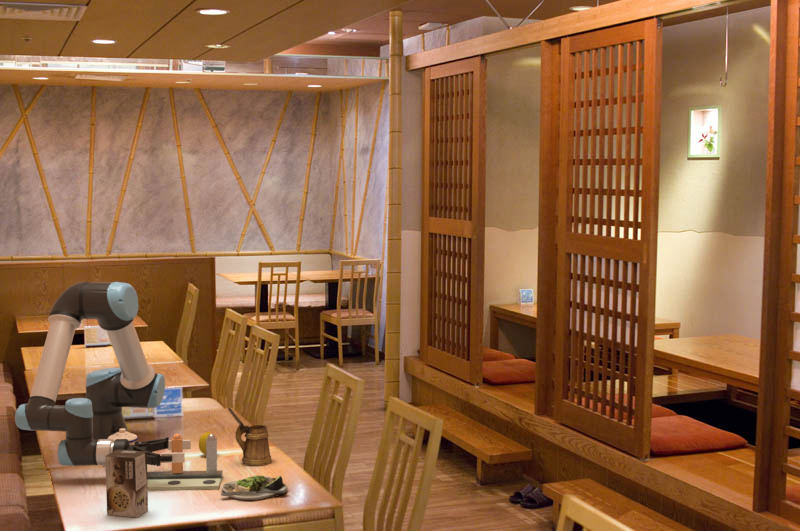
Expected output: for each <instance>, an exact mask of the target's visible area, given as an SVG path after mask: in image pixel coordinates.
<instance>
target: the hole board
mask: <svg viewBox="0 0 800 531" xmlns="http://www.w3.org/2000/svg"><path fill="white" fill-rule="evenodd" d="M221 483H222V480H221V478H212V479H156V480H147V485H148V492H150V490H151V492H152V491H153V492H154V491H188V490H189V491H193V490H195V491H196V490H197V491H199V490H201V491H202V490H219V489H220V486H221Z"/></svg>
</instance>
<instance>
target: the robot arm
mask: <svg viewBox="0 0 800 531" xmlns="http://www.w3.org/2000/svg"><path fill="white" fill-rule="evenodd" d="M138 301H139V297H138V294H137V291H136V289H135V288H134V286H132V285H131V283H127V282H120V281H113V282H112V281H111V282H110V281H80V282H76V283H73V284H72V285H70V286H68V287H67V288H66V289H64V290H63V291H62V293H60V294H59V295H58V297H57V298H56V300H55V301H54V303H53V304H52V306H51V309H50V311H49V314H48V317H47V318H48V319H47V320H48V323H49V327H48V331H47V335H46V339H45V341H44V345H43V350H42V352H41V357H40V359H39V363H38V366H37V369H36V370H37V371H36V374H35V377H34V381H33V384H32V388H31V392H30V395H29V399H28V401H27V403H22V404H20V405H19V406H18V408H17V409H16V410H15V413H14V414H15V415H14V422H15V425H16V427H17V428H19V430H24V431H32V432H35V431H37V432H38V431H41V432H42V431H43V432H46V431H47V432H48V431H49V432H64V433H65V439H62V440H60V442H59V444H58V446H57V460H58V463H59V464H60V465H61V466H67V467H68V466H69V467H71V466H72V467H78V466H79V467H83V466H87V467H88V466H101V467H103V468H106V465H105V456H106V455H108V454H110V453H112V452H113V451H115V450H132V451H145V452H147V466H148V465H149V466H154V467H155V466H156V467H160V466H161V463H162V464H169V463H171V464H172V463H183V464H184V463H185V452H183V453H172V452H161V453H156V452H158V451H162V450H167V449H168V450H169V451H170V450H171V451H172V439H170V437H163V438H158V439H151V440H149V439H148V440H141V441H139V440H137V441H136V442H135V445H129V441H128V440H127V439H116V440H115V441H114V440H113V439H108V437H109V436H111V435H114V434H115V433H117V432H119V429H121V428H125V429H126V431H127V432H129V431H128V429H129V428H128V426H127V422H126V421H125V418H124V415H123V409H122V408H132V409H134V408H136V409H155V408H157V407H159V406H160V405H161V403H162V401H163V398H164V395H165V389H166V388H165V387H166V378H165V375H164V374H162V373H156V369H155V368H154V367H153V366H152V365H151V364H149V363H148V362H147V359H146V356H145V353H144V349H143V347H142V344H141V342H140V339H139V338H140V337H139V336H138V333H137V330H136V328H135V324H134V320H135V318H136V317H137V315H138V312H139V302H138ZM84 319H85V320H96V321H97V323H98V327H99V328H100V329H102V330H103V331H106V333H107V336H108V339H109V341H110V343H111V347H112V349H113V352H114V355H115V356H116V357H115V358H116V360H117V362H118V365H119V367H107V368H102V369H96V370H94V371H90V372H89V373H87V375H86V377H85V397H73V398H69V399H67V400H66V401H65V404H64V405H60V404H56V401H57V397H58V394H59V392H60V387H61V384H62V379H63V377H64V376H63V375H64V373H65V368H66V365H67V362H68V359H69V354H70V351H71V347H72V345H73V344H72V343H73V339H74V336H75V332H76V330H77V329H78V328H80V327H81V323H82V321H83V320H84ZM191 449H192V445H191V439H183V450H191Z"/></svg>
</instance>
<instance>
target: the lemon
mask: <svg viewBox="0 0 800 531" xmlns="http://www.w3.org/2000/svg"><path fill="white" fill-rule="evenodd" d="M209 434H213V433H212V432H209V431H205V432H204V433H202V434H201V435H200V437H199V440H198V447H199V448H198V449H199V451H200V452H201V453H202V454H203V455H205V456H206V440H207V437H208V435H209Z"/></svg>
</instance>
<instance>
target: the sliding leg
mask: <svg viewBox="0 0 800 531" xmlns="http://www.w3.org/2000/svg"><path fill="white" fill-rule="evenodd" d="M183 438H184V437H183V436H182V435H181V433H179V432H178V433H175V434H174V435H173V436H172V438H171V440H172V450H171V453H184V452H183V451H184V449H183V440H184V439H183ZM171 471H172V473H182V471H184V462H183V463H171Z"/></svg>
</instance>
